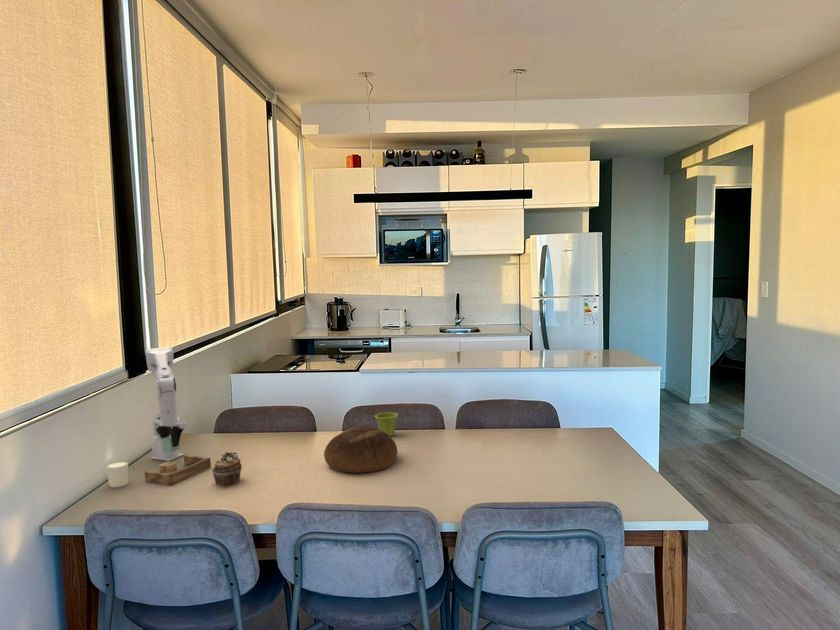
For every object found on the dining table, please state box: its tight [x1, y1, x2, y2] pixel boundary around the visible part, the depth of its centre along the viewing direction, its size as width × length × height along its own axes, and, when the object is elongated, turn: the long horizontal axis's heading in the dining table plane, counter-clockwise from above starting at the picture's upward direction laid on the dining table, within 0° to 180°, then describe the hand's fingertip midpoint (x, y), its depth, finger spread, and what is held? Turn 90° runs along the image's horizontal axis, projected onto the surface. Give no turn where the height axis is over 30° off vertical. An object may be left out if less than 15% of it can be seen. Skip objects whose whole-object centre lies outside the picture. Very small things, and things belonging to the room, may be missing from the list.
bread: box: [323, 425, 398, 474], centre depth 220 cm, size 26×27×13 cm
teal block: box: [162, 435, 180, 453], centre depth 222 cm, size 4×4×5 cm
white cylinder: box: [105, 461, 129, 488], centre depth 207 cm, size 7×7×7 cm
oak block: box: [158, 461, 178, 474], centre depth 212 cm, size 4×4×5 cm
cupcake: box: [211, 451, 242, 487], centre depth 205 cm, size 10×10×10 cm
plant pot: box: [375, 412, 399, 437], centre depth 254 cm, size 9×9×9 cm
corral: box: [144, 454, 212, 486], centre depth 215 cm, size 12×19×4 cm, turn 156°
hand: (171, 445), depth 222 cm, fingers closed on teal block, 4 cm apart
